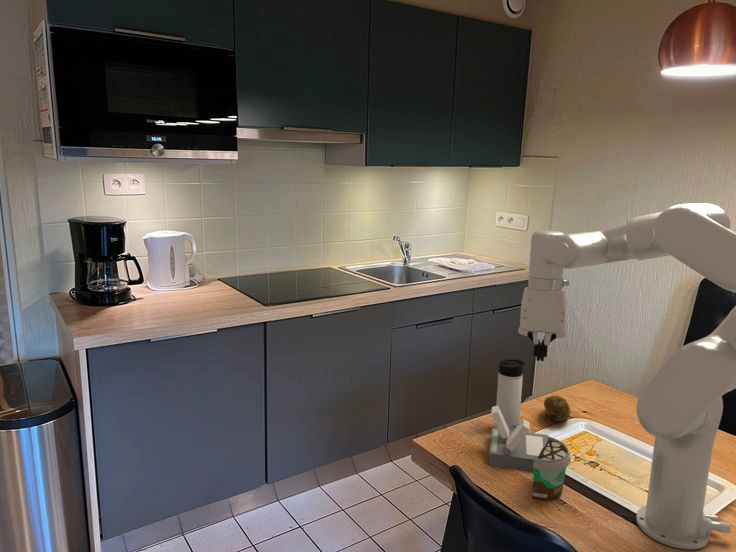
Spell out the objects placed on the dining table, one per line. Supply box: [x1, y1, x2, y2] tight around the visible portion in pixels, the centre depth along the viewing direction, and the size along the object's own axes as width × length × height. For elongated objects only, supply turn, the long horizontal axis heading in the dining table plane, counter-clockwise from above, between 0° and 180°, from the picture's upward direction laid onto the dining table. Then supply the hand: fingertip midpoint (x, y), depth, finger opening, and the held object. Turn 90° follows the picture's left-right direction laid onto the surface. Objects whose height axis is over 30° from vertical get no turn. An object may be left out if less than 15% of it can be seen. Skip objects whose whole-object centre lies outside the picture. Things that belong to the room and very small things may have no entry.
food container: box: [531, 435, 571, 502], centre depth 118 cm, size 12×6×10 cm, turn 148°
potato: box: [543, 394, 572, 422], centre depth 153 cm, size 8×13×8 cm, turn 142°
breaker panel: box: [488, 427, 549, 472], centre depth 134 cm, size 14×14×3 cm
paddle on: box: [491, 405, 509, 443], centre depth 136 cm, size 2×4×8 cm, turn 165°
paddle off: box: [505, 418, 530, 455], centre depth 129 cm, size 2×4×8 cm, turn 165°
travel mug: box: [494, 358, 526, 431], centre depth 145 cm, size 6×7×20 cm
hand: (539, 359), depth 130 cm, fingers closed
